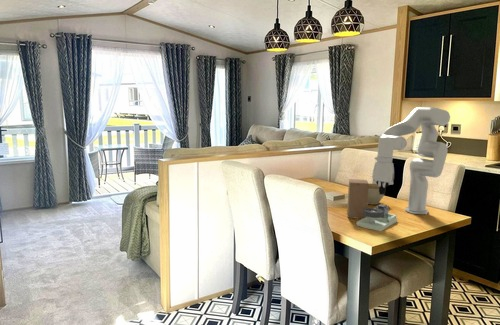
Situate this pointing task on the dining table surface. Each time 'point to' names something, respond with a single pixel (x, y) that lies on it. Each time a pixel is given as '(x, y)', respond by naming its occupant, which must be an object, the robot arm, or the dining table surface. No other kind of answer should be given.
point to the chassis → (377, 222)
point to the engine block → (384, 209)
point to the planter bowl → (374, 194)
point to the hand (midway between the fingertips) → (382, 194)
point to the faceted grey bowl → (370, 213)
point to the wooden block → (357, 198)
